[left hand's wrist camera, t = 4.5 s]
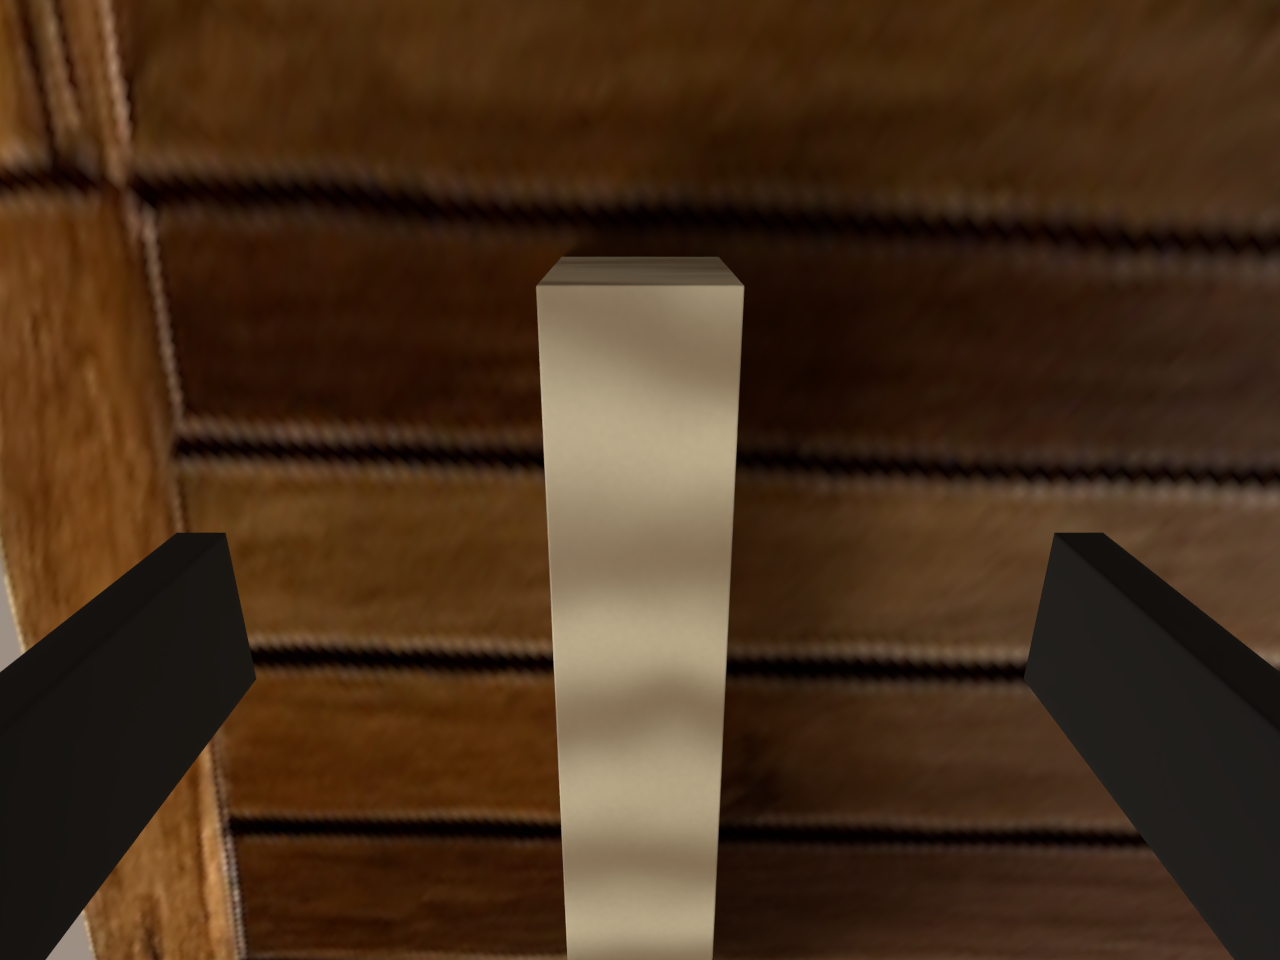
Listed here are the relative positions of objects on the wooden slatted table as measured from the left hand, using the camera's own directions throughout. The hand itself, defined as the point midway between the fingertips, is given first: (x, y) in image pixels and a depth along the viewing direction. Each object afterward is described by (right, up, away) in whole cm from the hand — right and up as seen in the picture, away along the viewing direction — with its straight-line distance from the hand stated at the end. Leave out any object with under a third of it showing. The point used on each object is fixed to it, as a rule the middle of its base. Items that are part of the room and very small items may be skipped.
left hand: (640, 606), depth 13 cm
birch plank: (0, -8, +19) cm, 20 cm away
